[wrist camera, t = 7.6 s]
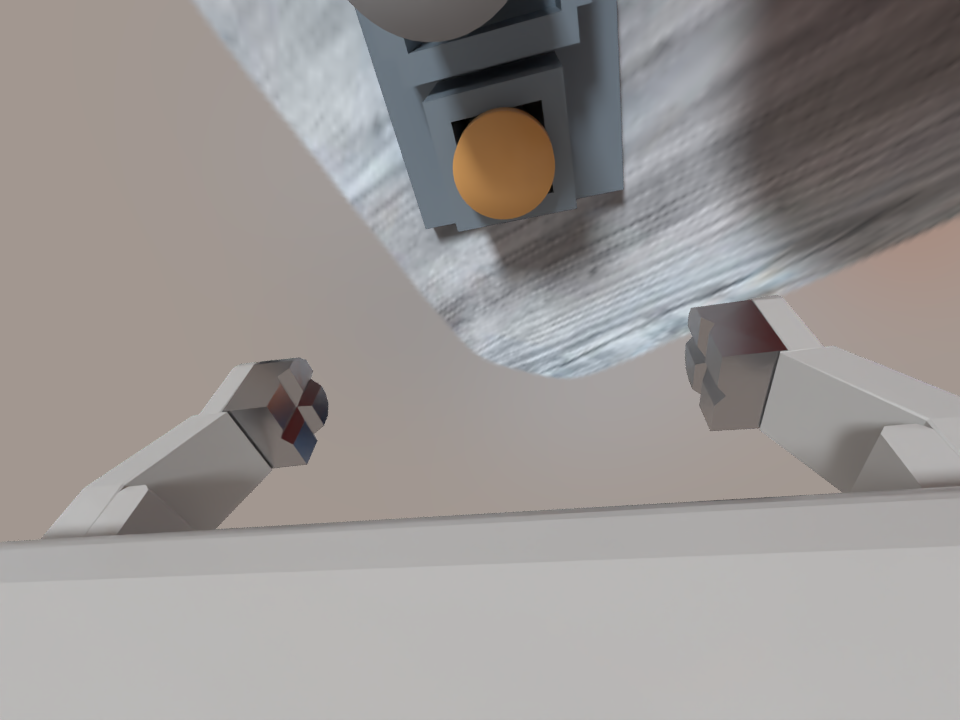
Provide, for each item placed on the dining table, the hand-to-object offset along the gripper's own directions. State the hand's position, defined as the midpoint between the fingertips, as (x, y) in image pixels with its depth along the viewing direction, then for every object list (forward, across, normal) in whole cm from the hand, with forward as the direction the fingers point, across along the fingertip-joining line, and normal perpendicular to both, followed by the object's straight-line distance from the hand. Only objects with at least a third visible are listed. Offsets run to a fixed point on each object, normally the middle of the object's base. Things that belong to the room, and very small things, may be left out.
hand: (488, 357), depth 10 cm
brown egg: (+19, 0, 0) cm, 19 cm away
